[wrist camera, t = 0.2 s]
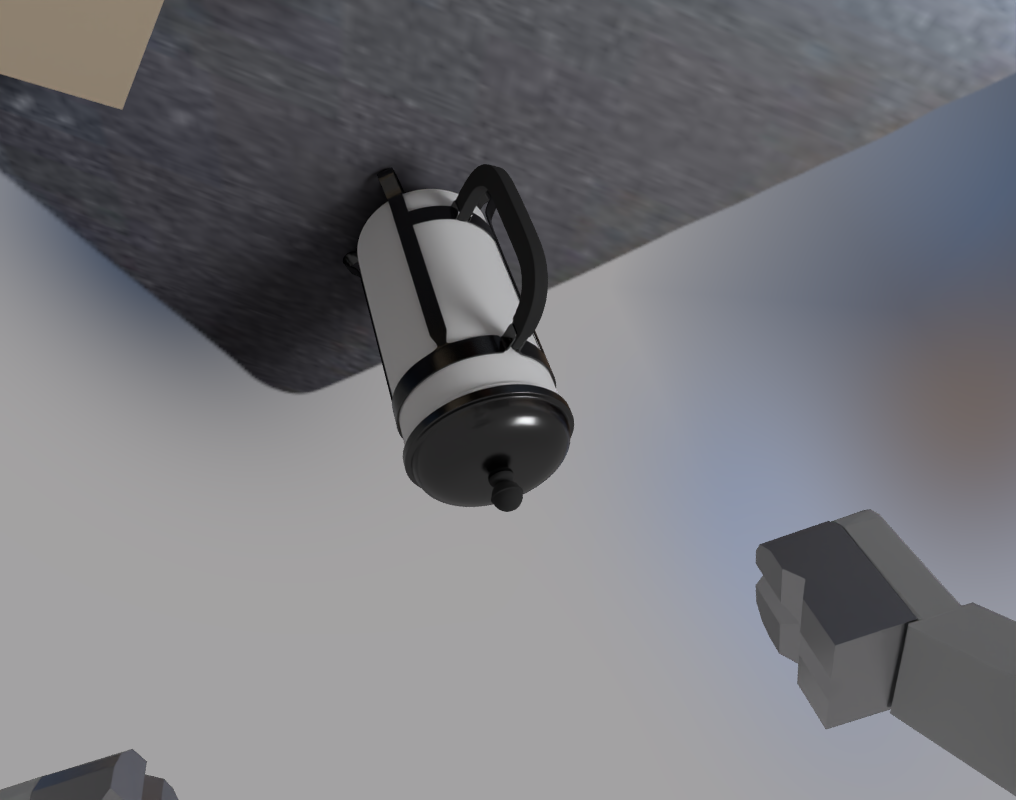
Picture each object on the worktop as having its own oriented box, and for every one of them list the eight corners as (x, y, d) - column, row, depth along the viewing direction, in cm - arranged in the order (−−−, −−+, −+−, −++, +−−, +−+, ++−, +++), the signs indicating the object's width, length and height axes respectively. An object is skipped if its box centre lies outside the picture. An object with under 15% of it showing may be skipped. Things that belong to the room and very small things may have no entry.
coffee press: (522, 248, 76) (636, 508, 59) (372, 306, 77) (443, 581, 60) (477, 101, 62) (611, 389, 45) (293, 174, 62) (356, 487, 45)
